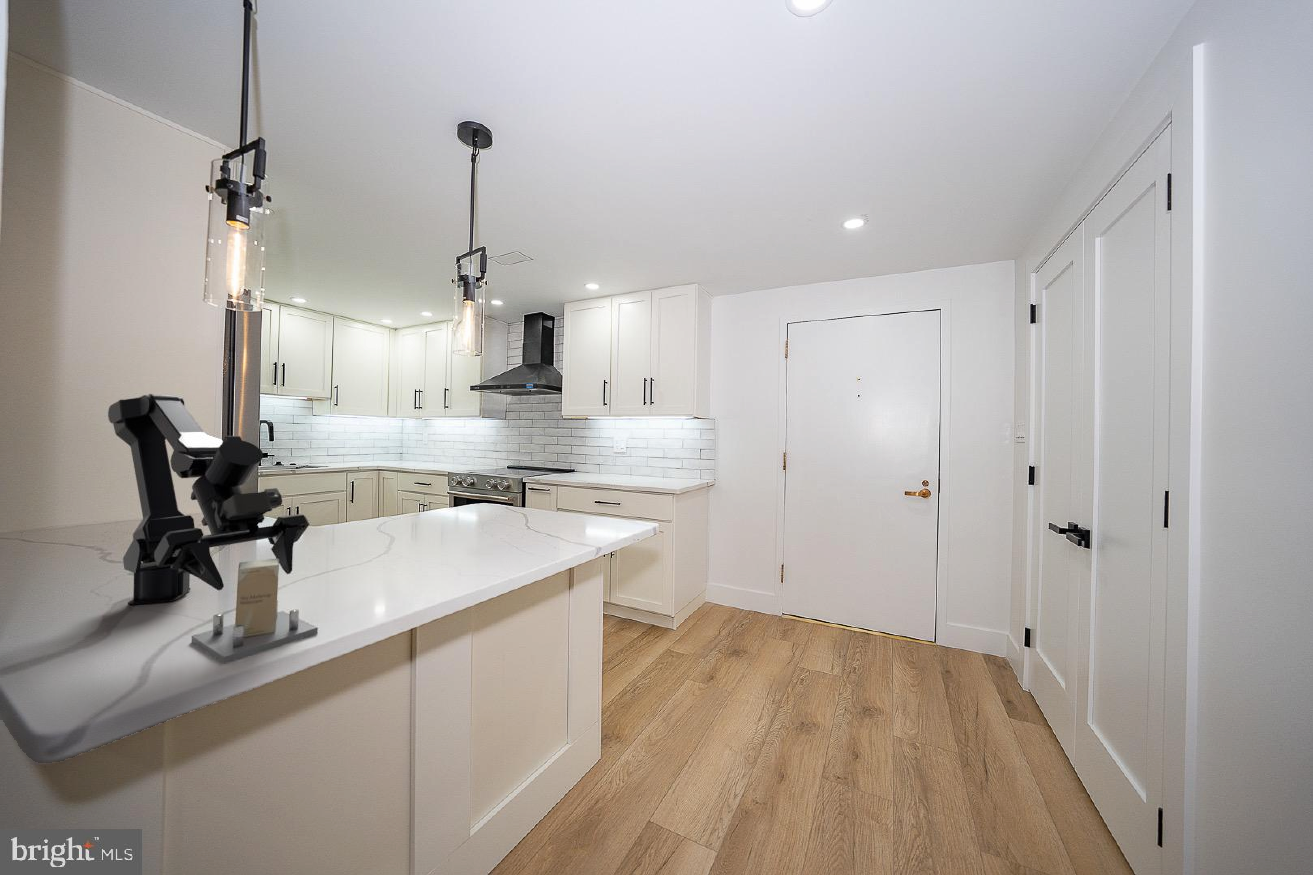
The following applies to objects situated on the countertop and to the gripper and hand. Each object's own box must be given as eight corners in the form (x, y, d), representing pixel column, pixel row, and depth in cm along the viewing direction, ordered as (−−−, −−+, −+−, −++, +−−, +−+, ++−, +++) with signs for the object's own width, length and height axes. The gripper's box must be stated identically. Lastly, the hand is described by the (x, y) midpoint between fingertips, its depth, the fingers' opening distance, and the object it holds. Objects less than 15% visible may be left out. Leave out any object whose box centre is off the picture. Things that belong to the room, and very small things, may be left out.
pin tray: (224, 663, 67) (224, 636, 67) (191, 641, 73) (192, 616, 73) (317, 633, 78) (318, 609, 78) (282, 616, 84) (283, 594, 84)
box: (233, 639, 72) (235, 568, 72) (235, 629, 76) (237, 561, 75) (277, 631, 76) (279, 563, 75) (277, 622, 79) (279, 557, 79)
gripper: (164, 478, 69) (200, 565, 64) (305, 469, 86) (340, 538, 81) (140, 524, 72) (171, 610, 68) (279, 507, 89) (312, 575, 85)
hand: (257, 580), depth 75 cm, fingers open, 9 cm apart
